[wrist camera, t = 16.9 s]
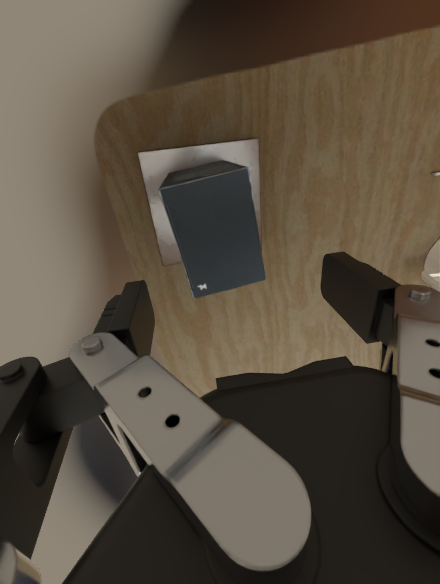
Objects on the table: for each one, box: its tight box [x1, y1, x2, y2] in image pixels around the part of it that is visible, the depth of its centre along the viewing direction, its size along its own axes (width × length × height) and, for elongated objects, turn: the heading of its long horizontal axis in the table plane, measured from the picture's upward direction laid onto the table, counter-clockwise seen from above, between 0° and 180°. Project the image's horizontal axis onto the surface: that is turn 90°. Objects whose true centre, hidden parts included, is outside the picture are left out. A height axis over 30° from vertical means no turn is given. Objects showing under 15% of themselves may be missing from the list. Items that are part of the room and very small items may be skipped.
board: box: [137, 138, 262, 266], centre depth 27 cm, size 11×11×2 cm
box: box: [158, 160, 265, 299], centre depth 22 cm, size 8×6×11 cm
